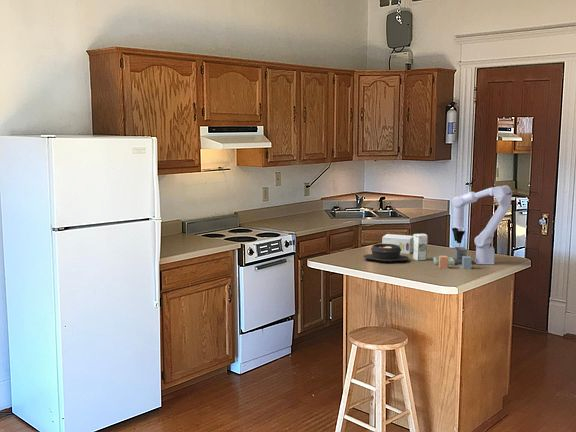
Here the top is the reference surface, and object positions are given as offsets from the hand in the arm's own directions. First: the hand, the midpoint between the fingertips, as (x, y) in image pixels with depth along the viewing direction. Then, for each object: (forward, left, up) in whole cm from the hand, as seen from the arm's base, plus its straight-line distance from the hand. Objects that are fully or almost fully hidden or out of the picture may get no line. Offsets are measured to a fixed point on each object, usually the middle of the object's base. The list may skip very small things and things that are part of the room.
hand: (457, 241), depth 350 cm
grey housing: (0, +9, -10) cm, 13 cm away
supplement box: (+31, -22, -10) cm, 40 cm away
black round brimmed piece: (+40, +7, -10) cm, 42 cm away
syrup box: (+21, +3, -10) cm, 23 cm away
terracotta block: (+11, +23, -10) cm, 27 cm away
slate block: (-1, +23, -10) cm, 25 cm away
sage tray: (+9, +11, -10) cm, 17 cm away
